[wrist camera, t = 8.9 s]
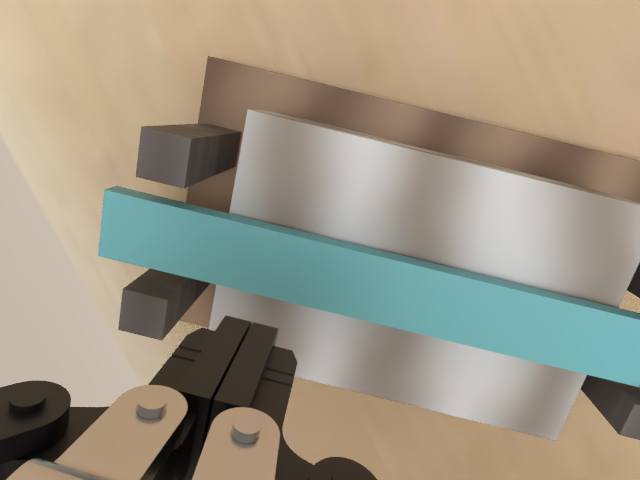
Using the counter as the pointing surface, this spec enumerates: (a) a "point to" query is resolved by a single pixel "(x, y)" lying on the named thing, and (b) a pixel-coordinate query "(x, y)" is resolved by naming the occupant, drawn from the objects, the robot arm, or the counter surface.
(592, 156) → the base
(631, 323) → the latch bar
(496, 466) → the counter surface
